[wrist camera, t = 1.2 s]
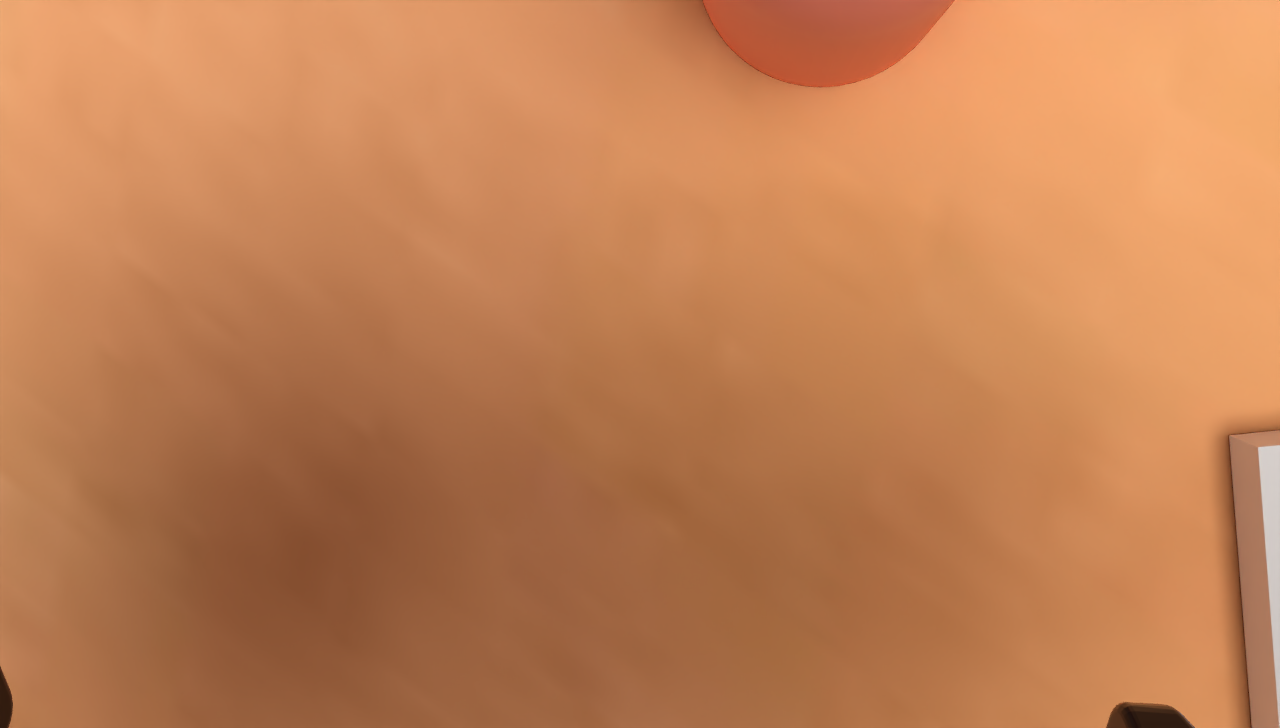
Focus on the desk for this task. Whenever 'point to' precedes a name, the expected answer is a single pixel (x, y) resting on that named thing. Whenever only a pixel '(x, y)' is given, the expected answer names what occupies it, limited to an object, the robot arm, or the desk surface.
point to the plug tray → (1259, 566)
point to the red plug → (823, 35)
